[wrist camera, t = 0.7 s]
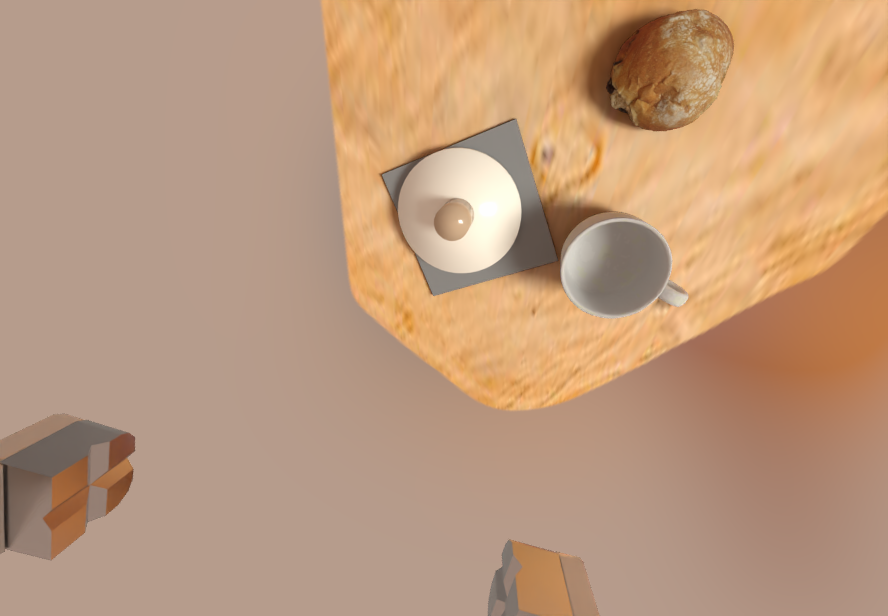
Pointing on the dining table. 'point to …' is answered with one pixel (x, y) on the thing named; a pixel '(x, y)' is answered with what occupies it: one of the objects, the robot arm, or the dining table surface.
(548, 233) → the mat
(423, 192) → the lid
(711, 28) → the bread roll
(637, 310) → the teacup
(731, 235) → the dining table surface
